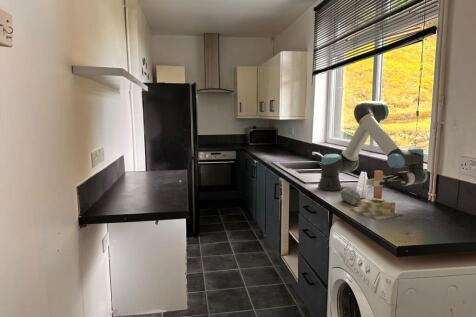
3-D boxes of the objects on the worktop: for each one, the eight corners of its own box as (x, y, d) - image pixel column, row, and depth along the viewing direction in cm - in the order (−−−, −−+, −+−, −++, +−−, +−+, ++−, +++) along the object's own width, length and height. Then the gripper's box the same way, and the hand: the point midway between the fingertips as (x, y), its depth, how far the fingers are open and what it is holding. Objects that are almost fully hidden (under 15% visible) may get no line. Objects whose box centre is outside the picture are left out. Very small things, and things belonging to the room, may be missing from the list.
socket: (350, 210, 171) (351, 199, 170) (375, 205, 179) (376, 195, 178) (377, 220, 155) (378, 208, 154) (403, 215, 162) (404, 203, 161)
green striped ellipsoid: (334, 194, 192) (344, 180, 188) (348, 200, 194) (357, 187, 190) (341, 205, 179) (352, 191, 176) (355, 212, 181) (366, 198, 178)
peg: (371, 197, 166) (372, 170, 165) (377, 196, 168) (378, 170, 166) (377, 199, 163) (379, 172, 161) (383, 198, 164) (385, 171, 163)
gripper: (417, 188, 164) (383, 193, 155) (389, 182, 180) (357, 186, 170) (418, 174, 163) (384, 178, 154) (390, 169, 179) (358, 172, 169)
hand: (370, 182), depth 162 cm, fingers closed on peg, 4 cm apart
